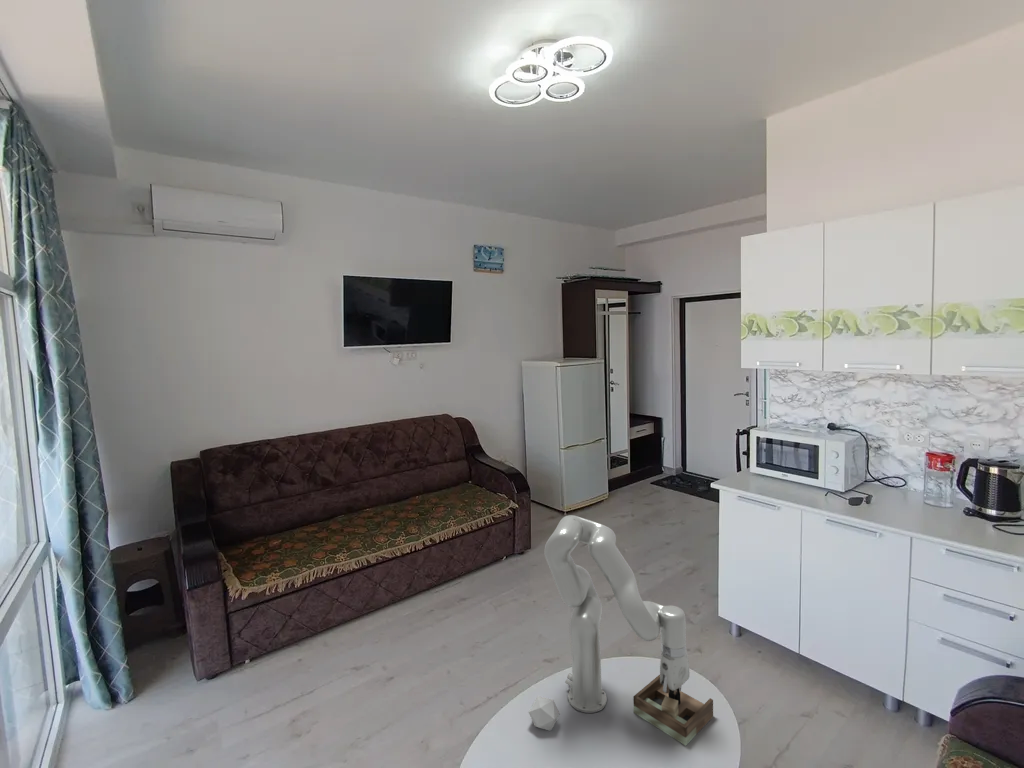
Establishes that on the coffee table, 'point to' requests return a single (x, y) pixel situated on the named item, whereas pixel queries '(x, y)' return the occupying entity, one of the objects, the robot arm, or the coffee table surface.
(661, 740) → the coffee table surface
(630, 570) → the robot arm
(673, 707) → the maple block
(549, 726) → the die
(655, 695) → the box
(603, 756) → the coffee table surface
